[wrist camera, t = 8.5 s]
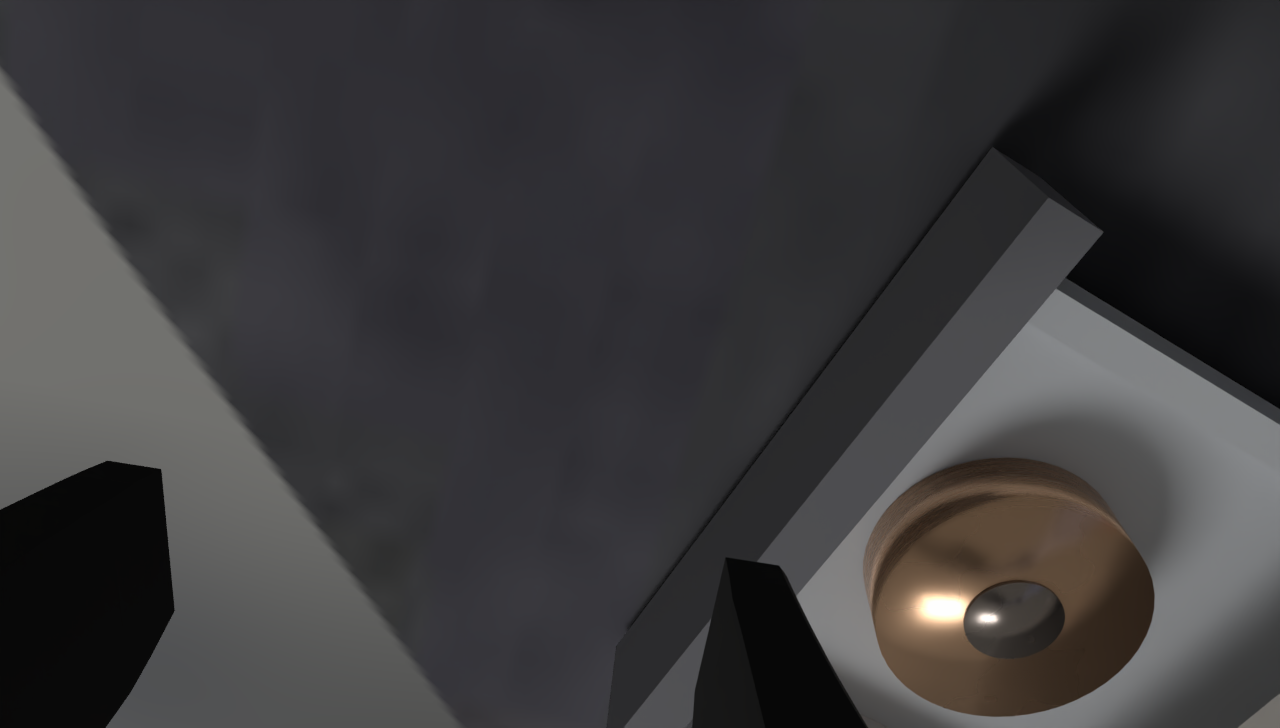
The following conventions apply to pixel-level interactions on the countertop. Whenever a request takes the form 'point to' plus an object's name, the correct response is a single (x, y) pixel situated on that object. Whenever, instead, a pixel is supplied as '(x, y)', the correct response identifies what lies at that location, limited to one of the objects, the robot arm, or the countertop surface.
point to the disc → (1005, 588)
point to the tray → (1002, 428)
